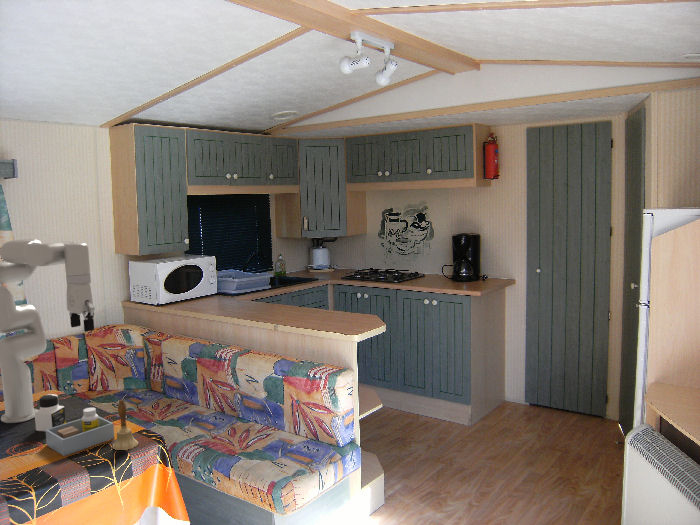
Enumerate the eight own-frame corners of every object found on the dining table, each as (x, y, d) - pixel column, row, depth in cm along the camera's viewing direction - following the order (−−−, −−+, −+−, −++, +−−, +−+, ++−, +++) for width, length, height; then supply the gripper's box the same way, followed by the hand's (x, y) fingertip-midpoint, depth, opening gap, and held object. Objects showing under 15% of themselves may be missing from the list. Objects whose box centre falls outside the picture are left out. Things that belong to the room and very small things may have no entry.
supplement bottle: (83, 441, 203) (81, 413, 201) (82, 435, 208) (80, 408, 206) (100, 437, 205) (98, 410, 204) (99, 432, 210) (97, 405, 209)
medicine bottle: (53, 432, 212) (50, 400, 210) (35, 431, 213) (32, 398, 212) (66, 424, 219) (63, 393, 217) (49, 423, 220) (46, 392, 219)
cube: (58, 445, 200) (57, 430, 199) (73, 440, 204) (72, 426, 203) (65, 449, 197) (63, 434, 196) (79, 443, 200) (78, 429, 200)
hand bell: (112, 453, 194) (109, 406, 192) (111, 443, 202) (108, 398, 200) (139, 448, 197) (136, 402, 195) (137, 438, 205) (134, 394, 203)
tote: (46, 445, 201) (45, 429, 200) (95, 428, 214) (94, 414, 213) (64, 456, 193) (62, 440, 192) (114, 438, 205) (113, 423, 205)
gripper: (56, 278, 205) (60, 327, 207) (79, 283, 193) (83, 334, 196) (77, 275, 210) (81, 323, 212) (101, 280, 199) (105, 330, 201)
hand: (82, 328), depth 204 cm, fingers open, 9 cm apart
